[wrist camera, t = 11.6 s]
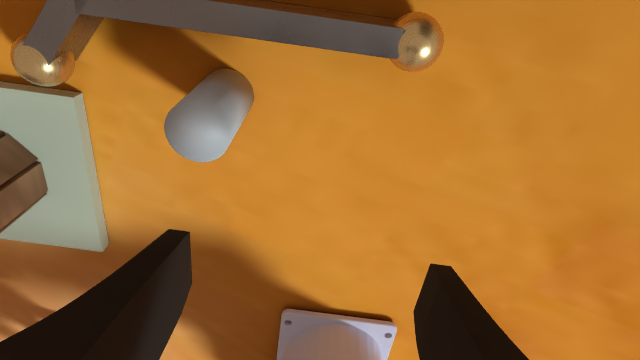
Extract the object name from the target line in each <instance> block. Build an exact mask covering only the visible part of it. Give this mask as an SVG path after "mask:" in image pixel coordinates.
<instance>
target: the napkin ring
mask: <svg viewBox="0 0 640 360" xmlns="http://www.w3.org/2000/svg"><path fill="white" fill-rule="evenodd" d="M38 159H39V158H37V157H36V156H35V155H34V154H33V153H31V152H30V151H29V150H28V149H27V148H25V147H24V146H23V145H22V144H21V143H19V142H18V141H17V140H16V139H14V138H13V137H12V136H11V135H10V134H8V135H6V136H5V133H4V131H0V233H2V232H3V231H4V230H5V229H6V228H8V227H9V226H10V225H11V224H12V223H14V222H15V221H16V220H17V219H19V218H20V217H21V216H22V215H23V214H25V213H26V212H27V211H28V210H29V209H31V208H32V207H33V206H34V205H35V204H36V203H37V202H38V201H40V200H41V199H42V198H43V197H44V196H45V195H46V194H47V193H46V192H47V191H48V187H47V183H46V179H45V175H44V171H43V167H42V163H41V162H36V161H37V160H38Z"/></svg>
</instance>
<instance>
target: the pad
mask: <svg viewBox="0 0 640 360" xmlns="http://www.w3.org/2000/svg"><path fill="white" fill-rule="evenodd" d="M0 131H4V133H5V136H6V135H8V134H10V135H11V136H12V137H13V138H14V139H16V140H17V141H18V142H19V143H21V144H22V145H23V146H24V147H25V148H27V149H28V150H29V151H30V152H31V153H33V154H34V155H35V156H36V157H37V158H39V159H38V160H37V161H36V162H41V163H42V167H43V171H44V175H45V179H46V183H47V187H48V191H47V192H46V193H47V194H46V195H45V196H44V197H43V198H42V199H41V200H40V201H38V202H37V203H36V204H35V205H34V206H33V207H32V208H31V209H29V210H28V211H27V212H26V213H25V214H23V215H22V216H21V217H20V218H19V219H17V220H16V221H15V222H14V223H12V224H11V225H10V226H9V227H8V228H6V229H5V230H4V231H3V232H2V233H0V239H6V240H14V241H21V242H29V243H37V244H45V245H52V246H60V247H68V248H75V249H83V250H91V251H98V252H103V251H104V249H105V248H106V247H107V246H108V244H109V241H108V235H107V230H106V224H105V218H104V213H103V207H102V201H101V196H100V190H99V184H98V179H97V173H96V167H95V162H94V156H93V150H92V144H91V139H90V133H89V127H88V122H87V116H86V110H85V105H84V99H83V93H81V92H74V91H67V90H59V89H52V88H45V87H38V86H31V85H24V84H16V83H9V82H2V81H0Z"/></svg>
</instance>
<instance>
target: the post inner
mask: <svg viewBox="0 0 640 360" xmlns="http://www.w3.org/2000/svg"><path fill="white" fill-rule="evenodd" d="M253 99H254V94H253V89H252V86H251V84H250V82H249V81H248V80H247V78H246V77H245V76H244V75H242V74H241V73H239V72H238V71H236V70H233V69H228V68H221V69H217V70H215V71H213V72H211V73H210V74H209V75H208V76H207V77H206V78H205V79H203V80H202V81H201V82H200V83H199V84H198V85H197V86H196V87H195V88H194V89H193V90H192V91H191V92H189V93H188V94H187V95H186V96H185V97H184V98H183V99H182V100H181V101H180V102H179V103H178V104H177V105H176V106H174V107H173V108H172V109H171V110H170V112H169V113H168V115H167V117H166V119H165V124H164V129H165V134H166V137H167V140H168V142H169V143H170V145H171V146H172V148H173V149H174V150H175V151H176V152H177V153H178V154H180V155H181V156H183V157H185V158H187V159H189V160H192V161H196V162H210V161H213V160H216V159H218V158H219V157H220V156H222V155H223V154H224V153H225V151H226V150H227V148H228V146H229V144H230V143H231V141H232V139H233V138H234V136H235V134H236V132H237V131H238V129H239V127H240V125H241V124H242V122H243V120H244V119H245V117H246V115H247V113H248V112H249V110H250V108H251V106H252V104H253Z"/></svg>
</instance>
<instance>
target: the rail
mask: <svg viewBox="0 0 640 360" xmlns="http://www.w3.org/2000/svg"><path fill="white" fill-rule="evenodd" d="M104 17H105V18H112V19H119V20H126V21H133V22H140V23H147V24H154V25H161V26H168V27H175V28H182V29H189V30H196V31H203V32H210V33H217V34H224V35H231V36H238V37H245V38H252V39H259V40H266V41H272V42H279V43H286V44H293V45H300V46H307V47H314V48H321V49H328V50H335V51H342V52H349V53H356V54H363V55H370V56H377V57H384V58H389V59H390V60H391V62H392V63H393V64H394V65H395V66H397V67H398V68H400V69H402V70H404V71H409V72H416V71H421V70H424V69H426V68H428V67H429V66H431V65H432V64H433V63H434V62H435V61H436V60H437V58H438V57H439V55H440V53H441V51H442V48H443V43H444V37H443V31H442V28H441V26H440V25H439V23H438V22H437V21H436V20H435V19H434V18H433V17H432V16H430V15H428V14H426V13H422V12H412V13H408V14H405V15H403V16H401V17H400V18H398V19H397V20H396V19H389V18H382V17H375V16H368V15H361V14H354V13H348V12H341V11H334V10H327V9H320V8H313V7H306V6H300V5H293V4H286V3H279V2H272V1H265V0H47V2H46V3H45V5H44V7H43V9H42V11H41V12H40V14H39V16H38V18H37V20H36V21H35V23H34V25H33V27H32V29H31V30H30V32H28V33H25V34H23V35H21V36H20V37H18V38H17V39H16V40H15V42H14V43H13V45H12V47H11V53H10V56H11V61H12V64H13V66H14V68H15V70H16V71H17V72H18V73H19V74H20V75H21V76H22V77H23V78H24V79H25V80H27V81H29V82H31V83H33V84H36V85H39V86H47V87H49V86H57V85H59V84H62V83H64V82H65V81H67V80H68V79H69V78H70V77H71V75H72V73H73V71H74V67H75V61H76V60H77V59H78V57H79V55H80V54H81V52H82V51H83V49H84V48H85V46H86V45H87V43H88V41H89V40H90V38H91V37H92V35H93V34H94V32H95V30H96V29H97V27H98V26H99V24H100V23H101V21H102V20H103V18H104Z"/></svg>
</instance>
